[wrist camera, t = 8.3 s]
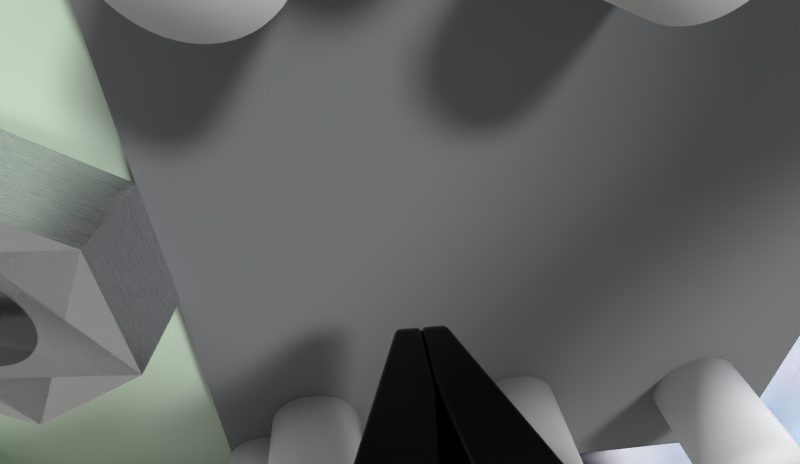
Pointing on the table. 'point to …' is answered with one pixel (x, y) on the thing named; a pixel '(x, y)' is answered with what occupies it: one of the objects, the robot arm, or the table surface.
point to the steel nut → (73, 282)
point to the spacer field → (433, 213)
